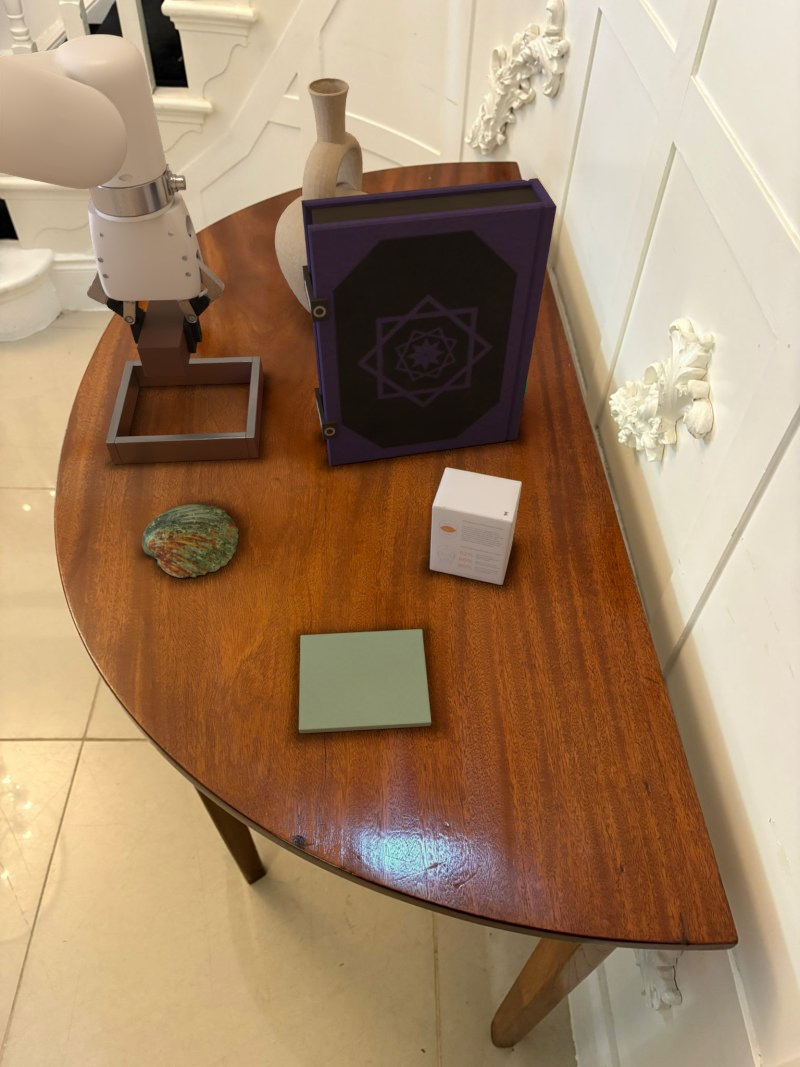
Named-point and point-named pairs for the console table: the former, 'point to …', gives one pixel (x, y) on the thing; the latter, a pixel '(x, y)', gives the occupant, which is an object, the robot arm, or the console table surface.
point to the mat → (363, 681)
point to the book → (424, 314)
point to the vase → (320, 177)
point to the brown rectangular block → (163, 340)
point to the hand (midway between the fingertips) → (170, 345)
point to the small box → (473, 525)
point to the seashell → (191, 540)
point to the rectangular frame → (187, 444)
